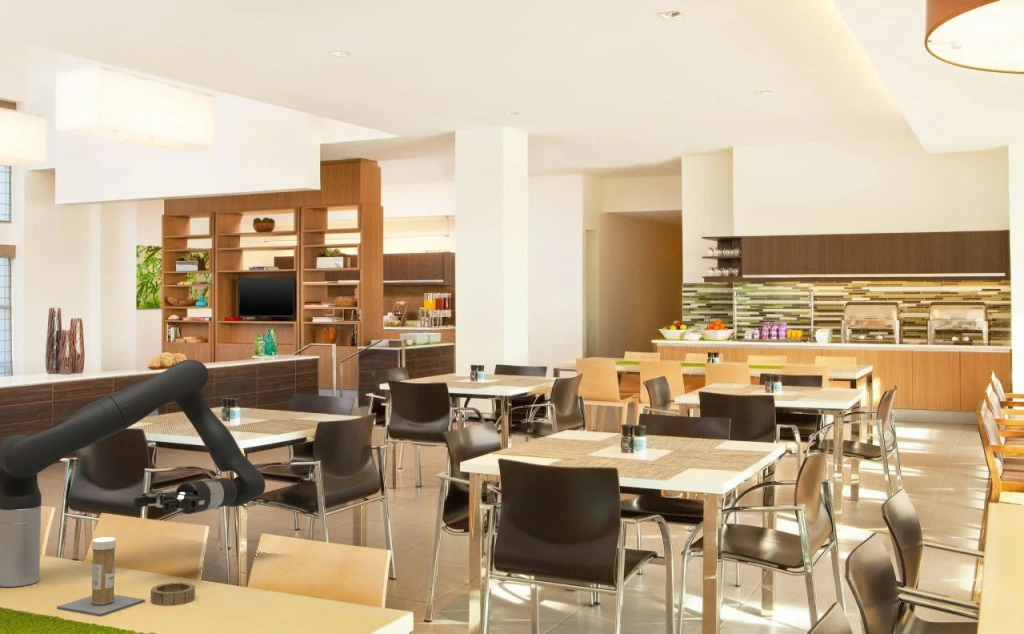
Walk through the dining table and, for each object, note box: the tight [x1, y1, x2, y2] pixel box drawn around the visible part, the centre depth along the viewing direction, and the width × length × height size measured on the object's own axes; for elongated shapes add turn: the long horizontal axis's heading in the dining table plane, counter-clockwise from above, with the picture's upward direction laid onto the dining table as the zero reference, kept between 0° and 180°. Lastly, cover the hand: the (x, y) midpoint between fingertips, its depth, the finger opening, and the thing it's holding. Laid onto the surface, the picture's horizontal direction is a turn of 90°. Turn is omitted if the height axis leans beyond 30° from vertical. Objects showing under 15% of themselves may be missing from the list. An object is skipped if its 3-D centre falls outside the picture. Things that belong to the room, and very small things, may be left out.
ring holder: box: [149, 582, 196, 606], centre depth 209 cm, size 9×9×2 cm
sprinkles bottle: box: [91, 536, 117, 605], centre depth 204 cm, size 5×5×14 cm
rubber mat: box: [56, 593, 146, 617], centre depth 203 cm, size 12×12×1 cm
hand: (149, 504), depth 218 cm, fingers open, 8 cm apart
